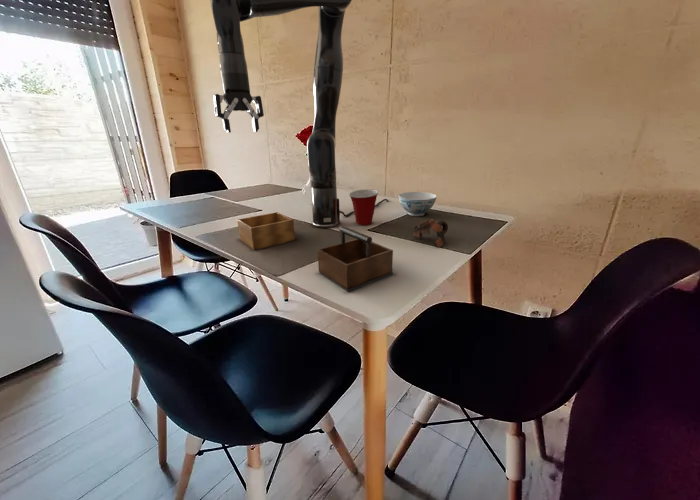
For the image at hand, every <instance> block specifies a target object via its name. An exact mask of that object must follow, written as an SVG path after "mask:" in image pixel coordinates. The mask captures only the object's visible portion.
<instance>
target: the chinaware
mask: <svg viewBox="0 0 700 500" xmlns="http://www.w3.org/2000/svg"><path fill="white" fill-rule="evenodd" d="M398 200H399V203H400V205H401V207H402V209H404V210H405V211H406V212H407V214H408V215H409V216H411V217H422V216H425V213H427V212H429V210H431V209H432V208H433V206H434V205H435V203H436V200H437V195H436V194H434V193H431V192H426V191H406V192H400V193H399V194H398Z"/></svg>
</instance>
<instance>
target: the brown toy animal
mask: <svg viewBox="0 0 700 500" xmlns="http://www.w3.org/2000/svg"><path fill="white" fill-rule="evenodd" d="M431 229H432V230H433V231H434V232H435V233H436V235H437V237H438V239H436V240H435V244H436V246H437V248H440V247H442V246H443V245H445V244H446V238H445V237H446V236H445V234H447V232H448V229H449V224H448V223H447V222H446V221H445V220H440V221H438V222H436V221H435V219H433V218H432V219H428V220H425V221H423V222H421V223H420V224H419V226H418V225H416V226H415V227H413V228H412V231H413V233H412V236H413V238H415V237H417V238H418V239H421V238H422V237H423V234H426V235H430V234H431V231H430V230H431Z"/></svg>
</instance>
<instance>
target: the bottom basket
mask: <svg viewBox="0 0 700 500" xmlns="http://www.w3.org/2000/svg"><path fill="white" fill-rule="evenodd" d="M236 221H237V226H238V227H237V228H238V233H239V239H240V241H241V242H242V243H244V244H245V245H246V246H247V247H249V248H250V249H251V250H253V251H257V250H261V249H265V248H269V247H274V246H277V245H281V244H285V243H290V242H293V241H296V231H295V222H294V219H293V218H292V217H289V216H287V215H285V214H282V213H280V212H278V211H275V212H270V213H265V214H260V215H253V216H249V217H242V218H238V219H236Z"/></svg>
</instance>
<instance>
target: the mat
mask: <svg viewBox="0 0 700 500" xmlns="http://www.w3.org/2000/svg"><path fill="white" fill-rule="evenodd" d="M319 274H320V275H321V276H323V277H324V278H325V279H327V280H329V281H330V282H331V283H333V284H334V285H336V286H338V287H339V288H341V289H342V290H344V291H346V292H347V293H350V292H352V291H354V290H358V289H360V288H362V287H365V286H367V285H370V284H372V283H375V282H377V281H380V280H383V279H385V278H388V277H389V276H392V275H393V274H394V273H393V271H392V273H389V274H387V275H384V276H382V277H379V278H376V279H374V280H371V281H369V282H366V283H363V284H361V285H358V286H356V287H353V288H350V289H348V290H347V289H345V288H344V287H342V286H340V285H339V284H337V283H336V282H334V281H333V280H331V279H330V278H328V277H327V276H325V275H323V274H322V273H320V272H319Z"/></svg>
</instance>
